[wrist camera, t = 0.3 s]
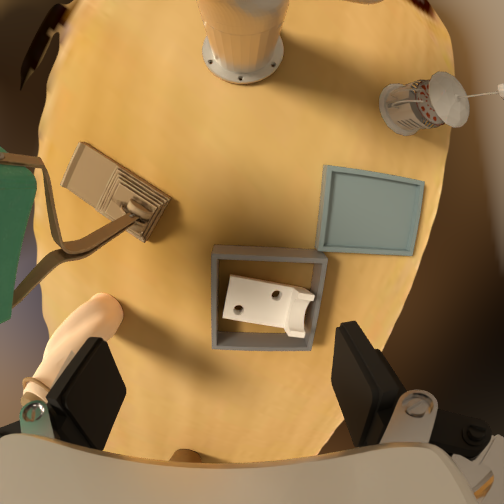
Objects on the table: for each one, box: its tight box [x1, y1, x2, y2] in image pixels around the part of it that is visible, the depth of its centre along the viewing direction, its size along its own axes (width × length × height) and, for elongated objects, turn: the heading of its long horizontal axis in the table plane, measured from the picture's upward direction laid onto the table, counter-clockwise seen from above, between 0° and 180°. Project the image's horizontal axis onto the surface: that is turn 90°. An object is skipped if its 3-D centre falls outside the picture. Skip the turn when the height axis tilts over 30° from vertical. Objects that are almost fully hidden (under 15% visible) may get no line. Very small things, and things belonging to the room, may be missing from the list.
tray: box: [315, 165, 424, 256], centre depth 44 cm, size 14×19×2 cm
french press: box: [379, 72, 504, 136], centre depth 27 cm, size 10×12×25 cm
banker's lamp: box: [0, 142, 171, 324], centre depth 25 cm, size 16×21×35 cm
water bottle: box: [20, 293, 123, 406], centre depth 36 cm, size 10×9×28 cm
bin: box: [211, 245, 328, 351], centre depth 47 cm, size 18×18×4 cm
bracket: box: [223, 274, 315, 338], centre depth 46 cm, size 13×7×8 cm, turn 78°
